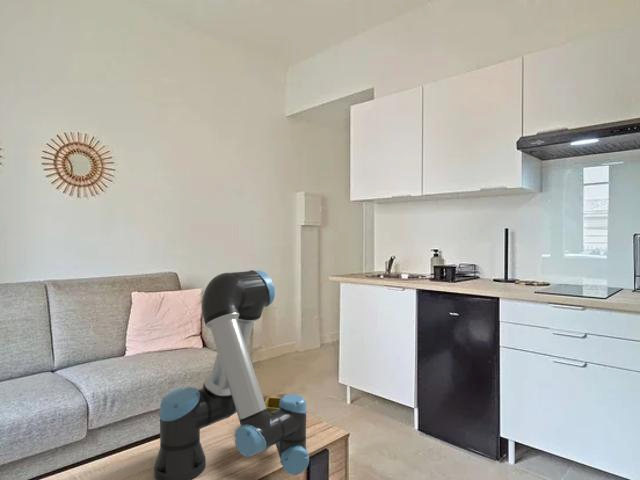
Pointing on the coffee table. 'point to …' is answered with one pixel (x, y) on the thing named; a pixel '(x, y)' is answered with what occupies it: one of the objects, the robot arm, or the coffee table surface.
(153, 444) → the coffee table surface
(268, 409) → the flower pot
